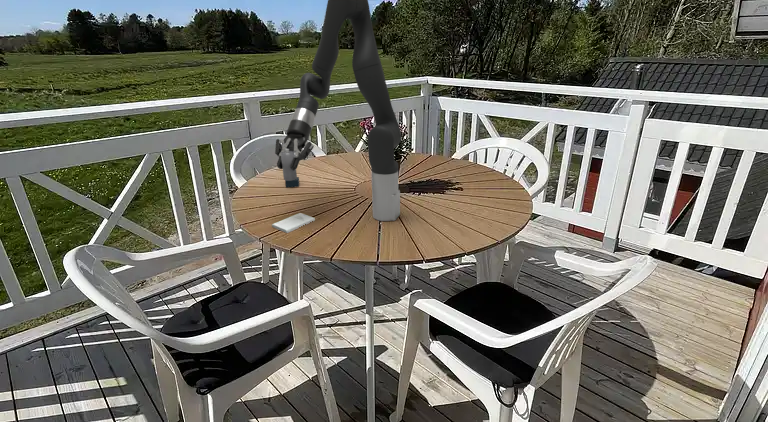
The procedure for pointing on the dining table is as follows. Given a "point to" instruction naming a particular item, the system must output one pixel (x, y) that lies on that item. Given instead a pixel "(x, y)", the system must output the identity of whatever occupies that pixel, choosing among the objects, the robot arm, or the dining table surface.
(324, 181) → the dining table surface
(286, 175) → the grey upright cylinder
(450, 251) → the dining table surface
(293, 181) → the watch
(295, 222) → the external hard drive
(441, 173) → the dining table surface
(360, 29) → the robot arm
